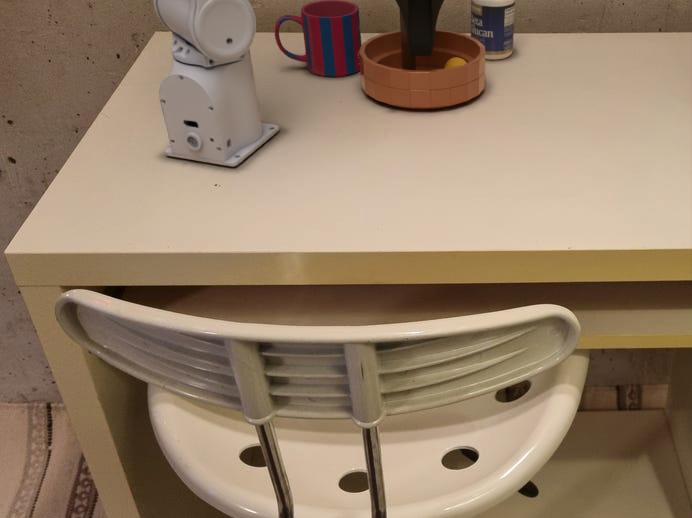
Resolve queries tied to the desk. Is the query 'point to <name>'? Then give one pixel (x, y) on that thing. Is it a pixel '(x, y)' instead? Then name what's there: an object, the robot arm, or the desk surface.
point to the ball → (454, 62)
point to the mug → (328, 37)
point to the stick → (406, 48)
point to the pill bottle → (493, 26)
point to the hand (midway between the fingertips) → (421, 42)
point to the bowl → (422, 71)
